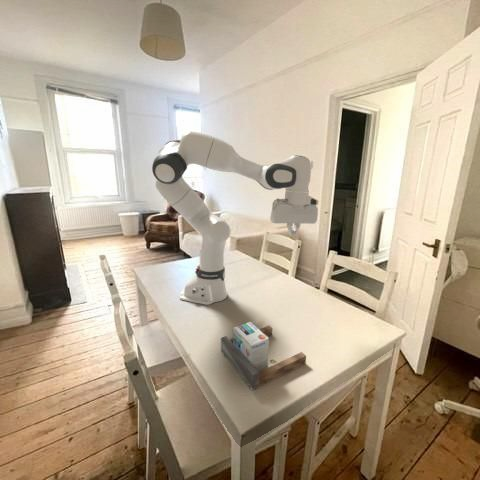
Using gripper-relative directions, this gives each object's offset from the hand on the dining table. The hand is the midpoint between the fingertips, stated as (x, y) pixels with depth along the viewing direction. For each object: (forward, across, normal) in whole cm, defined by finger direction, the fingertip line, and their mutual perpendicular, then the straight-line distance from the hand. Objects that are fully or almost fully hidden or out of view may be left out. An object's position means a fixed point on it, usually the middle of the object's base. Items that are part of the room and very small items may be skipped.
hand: (292, 234), depth 106 cm
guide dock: (+36, -22, -20) cm, 47 cm away
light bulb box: (+37, -26, -20) cm, 50 cm away
